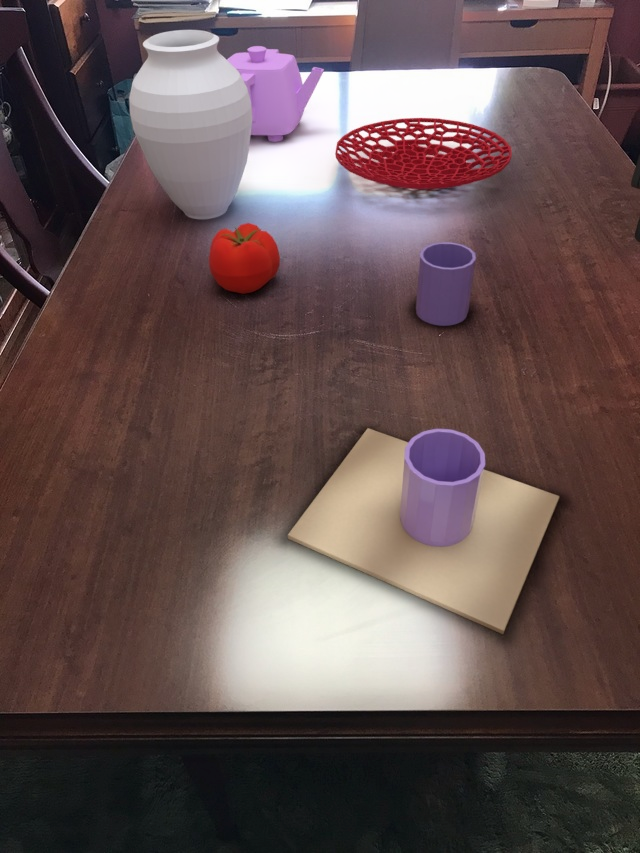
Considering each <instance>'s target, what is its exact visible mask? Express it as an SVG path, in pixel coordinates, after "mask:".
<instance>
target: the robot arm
mask: <svg viewBox="0 0 640 853" xmlns="http://www.w3.org/2000/svg"><path fill="white" fill-rule="evenodd" d="M632 174H633V175H632V178H631V182H630V187H631V188H634V189H637V190H640V153H639V155H638V158H637V161H636V165H635V168H634V171H633V173H632ZM634 239H635V240H636V241H637V242H638V243H640V217H639V218H638V221H637V225H636V228H635V232H634Z"/></svg>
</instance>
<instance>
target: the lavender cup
mask: <svg viewBox="0 0 640 853" xmlns="http://www.w3.org/2000/svg"><path fill="white" fill-rule="evenodd" d="M484 470H486V454H485V451H484V450H483V448H482V447H481V445H480V443H479V442H478V441H477V440H475V439H473V438H472V437H471V436H469V435H468V434H466V433H464V432H460V431H458V430H454V429H451V428H449V429H448V428H447V429H446V428H433V429H429V430H424V431H421V432H420V433H418V434H416V435H414V436H413V437H411V438H410V440H409V441H408V444H407V446H406V447H405V455H404V468H403V480H402V492H401V505H400V521H401V524H402V526H403V528H404V530H405V531H406V532H407V533H408V534H409V535H410V536H411V537H412V538H413V539H415V540H417V541H418V542H421V543H423V544H426V545H430V546H436V547H444V546H451V545H454V544H457V543H459V542H460V541H462V540H463V539H465V538H466V537H467V536H468V535H469V533H470V532H471V529H472V527H473V523H474V520H475V515H476V510H477V505H478V500H479V495H480V490H481V485H482V479H483V474H484Z"/></svg>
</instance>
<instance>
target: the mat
mask: <svg viewBox="0 0 640 853" xmlns="http://www.w3.org/2000/svg"><path fill="white" fill-rule="evenodd" d="M408 443H409V441H405V440H403V439H400V438H397V437H394V436H391V435H388V434H386V433H383V432H381V431H376V430H374V429H372V428H368V427H367V428H366V430H365V431H364V433H363V434H362V435H361V436H360V438H359V439H358V440H357V442H356V443H355V444H354V446H353V447H352V449H351V450H350V451H349V453H347V454H346V457H344V459H343V461H342V462H341V463H340V464H339V466H338V467H337V468H336V469H335V471H334V472H333V474H332V475H331V476H330V477H329V479H328V480H327V481H326V483H325V484H324V486H323V487H322V488H321V490H320V491H319V493H318V494H316V496H315V498H314V499H313V500H312V502H311V503H310V504H309V506H308V507H307V508H306V510H305V511H304V512H303V514H302V515H301V516H300V518H299V519H298V520H297V521H296V523H295V525H294V526H293V527H292V529H291V530H290V531H289V532H288V534H287V539H288V540H290V541H293V542H295V543H297V544H299V545H301V546H304V547H306V548H308V549H310V550H313V551H315V552H317V553H319V554H321V555H323V556H327V557H328V558H331V559H332V560H334V561H337V562H339V563H342V564H344V565H346V566H348V567H350V568H353V569H355V570H358V571H360V572H362V573H364V574H366V575H368V576H370V577H373V578H375V579H378V580H380V581H382V582H384V583H386V584H389V585H391V586H393V587H395V588H398V589H400V590H402V591H405V592H407V593H408V594H411V595H413V596H416V597H418V598H421V599H422V600H424V601H427V602H429V603H431V604H434V605H436V606H438V607H441V608H443V609H445V610H447V611H449V612H452V613H454V614H456V615H458V616H461V617H463V618H465V619H467V620H470V621H472V622H474V623H477V624H478V625H481V626H483V627H485V628H488V629H490V630H492V631H494V632H497V633H499V634H501V635H504V633H505V631H506V629H507V626H508V624H509V621H510V620H511V617H512V614H513V612H514V609H515V607H516V604H517V602H518V599H519V597H520V596H521V592H522V590H523V587H524V585H525V583H526V580H527V578H528V575H529V573H530V570H531V568H532V566H533V563H534V561H535V559H536V556H537V555H538V554H537V553H538V551H539V549H540V547H541V544H542V541H543V539H544V536H545V534H546V532H547V529H548V527H549V525H550V522H551V519H552V517H553V514H554V512H555V510H556V507H557V506H558V503H559V500H560V495H557V494H554V493H551V492H549V491H546V490H543V489H540V488H538V487H534V486H532V485H529V484H526V483H524V482H521V481H517V480H515V479H512V478H509V477H506V476H504V475H501V474H498V473H496V472H493V471H490V470H488V469H484V474H483V479H482V485H481V490H480V495H479V500H478V505H477V510H476V515H475V520H474V523H473V527H472V529H471V532H470V533H469V535H468V536H467V537H466V538H465V539H463V540H462V541H460V542H459V543H457V544H454V545H451V546H444V547H436V546H430V545H426V544H423V543H421V542H418V541H417V540H415V539H413V538H412V537H411V536H410V535H409V534H408V533H407V532H406V531H405V530H404V528H403V526H402V524H401V521H400V505H401V492H402V480H403V468H404V455H405V447H406V446H407V444H408Z"/></svg>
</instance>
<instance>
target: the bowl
mask: <svg viewBox="0 0 640 853" xmlns="http://www.w3.org/2000/svg"><path fill="white" fill-rule="evenodd" d="M423 123H432V124H428V125H426V124H423ZM397 124H405V125H406V127H398V126H397ZM446 125H449V126H456V127H447V126H446ZM460 127H462V128H460ZM464 128H466V129H464ZM438 129H441V130H442V131H441V130H438ZM425 130H433V133H426V132H425ZM473 130H474V131H473ZM476 131H477V132H476ZM360 132H365V133H367V135H368V136H367V135H366V136H365V137H364V136H362V134H361V133H360ZM416 132H419V133H416ZM479 132H480V133H479ZM447 133H456V134H455V135H453V136H444V135H445V134H447ZM373 134H377V135H379V136H378V137H374V136H372V135H373ZM484 134H485V135H484ZM486 135H487V136H486ZM407 136H409V137H410V136H411V137H412V139H411V138H410V139H409V138H408V139H406V138H405V137H407ZM488 136H489V137H488ZM351 137H352V138H351ZM393 137H397V138H399V139H395V138H393ZM357 138H358V139H359V140H358V139H357ZM423 138H425V139H423ZM493 139H495V140H497V141H495V140H493ZM369 141H371V142H373V143H375V144H369V143H367V142H369ZM380 141H387V142H389V143H391V145H388V146H385V145H383V144H380ZM431 141H435V142H439V143H432V142H431ZM445 142H447V143H448V142H454V143H456V144H459V145H458V146H456V147H450V146H447V145H444V144H443V143H445ZM467 144H468V145H469V146H470V147H466V146H463V145H467ZM500 145H501V146H500ZM342 149H343V150H342ZM351 149H352V150H351ZM369 150H370V151H369ZM475 150H480V151H477V152H474V151H475ZM360 152H362V153H363V154H364V155H366V156H367V158H366V157H363V156H361V155H360V154H359V153H360ZM440 152H442V153H440ZM443 153H445V154H443ZM494 153H500V154H498V155H495V156H494V155H491V154H494ZM334 154H335V159H336V160H337V162H338V163H339V165H340V166H342V168H344V169H345V170H346V171H348V172H349V173H350V174H351V173H352V174H353V175H356V176H359V177H360V178H362V179H365V180H369V181H372V182H375V183H377V184H380V185H381V184H382V185H386V186H390V187H395V188H402V189H410V190H437V189H438V190H439V189H448V188H455V187H459V186H465V185H469V184H472V183H477V182H480V181H483V180H486V179H489V178H491V177H494V176H495V175H496V174H499V173H500V172H502V171H503V170H504V169H505V168H506V167H508V165H509V164H510V163H511V159H512V155H513V154H512V147H511V145H510V144H509V143H508V142H507V141H506V140H505V138H503V137H501V135H499V134H497V133H496V132H494V131H492V130H489V129H487V128H486V127H482V126H479V125H475V124H473V123H468V122H464V121H459V120H451V119H445V118H437V117H435V118H433V117H410V118H409V117H408V118H407V117H406V118H396V119H390V120H382V121H378V122H374V123H369V124H365V125H362V126H360V127H357V128H355V129H352V130H350V131H349V132H347V133H346V134H344V135H343V136H341V138H340V139H339V140H338V141H336V148H335V152H334ZM505 154H508V155H505ZM485 155H486V156H485ZM504 155H505V156H504ZM352 156H354V157H355V158H353V157H352ZM481 156H483V157H481ZM470 160H471V162H469V161H470ZM472 160H474V161H472ZM477 166H481V167H478V168H475V167H477Z"/></svg>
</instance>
